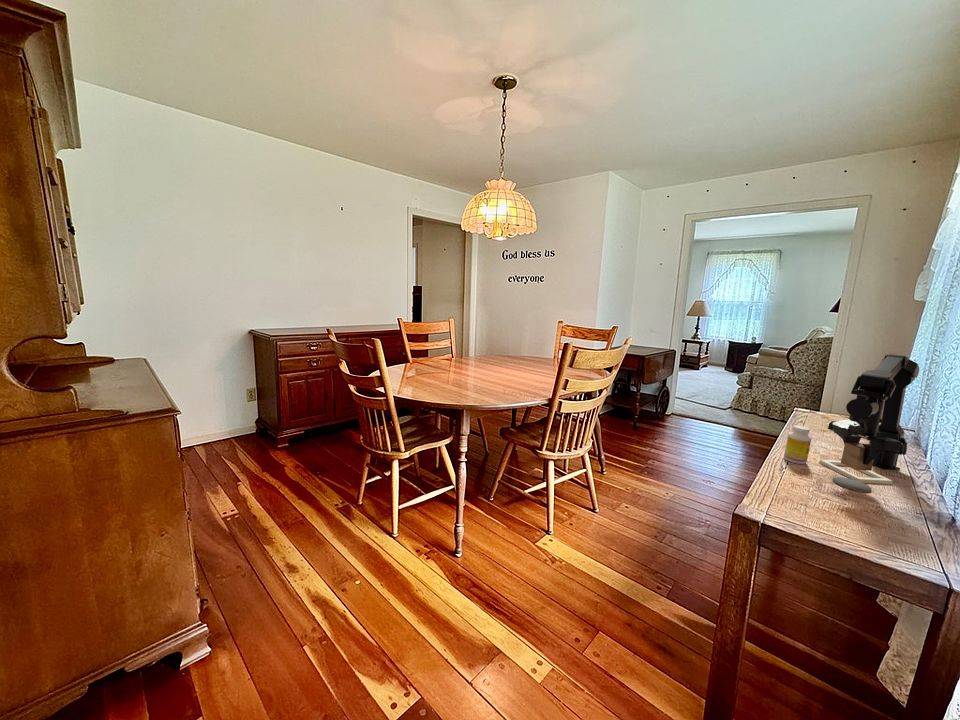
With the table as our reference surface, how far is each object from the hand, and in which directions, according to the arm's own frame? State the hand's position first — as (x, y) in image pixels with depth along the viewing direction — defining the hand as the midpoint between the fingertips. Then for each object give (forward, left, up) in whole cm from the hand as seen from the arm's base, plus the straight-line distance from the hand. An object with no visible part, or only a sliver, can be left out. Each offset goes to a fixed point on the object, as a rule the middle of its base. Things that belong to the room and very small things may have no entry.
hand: (857, 460), depth 122 cm
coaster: (0, 0, -8) cm, 8 cm away
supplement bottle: (+4, -18, -9) cm, 20 cm away
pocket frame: (-10, -10, -8) cm, 16 cm away
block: (0, 0, -2) cm, 2 cm away
